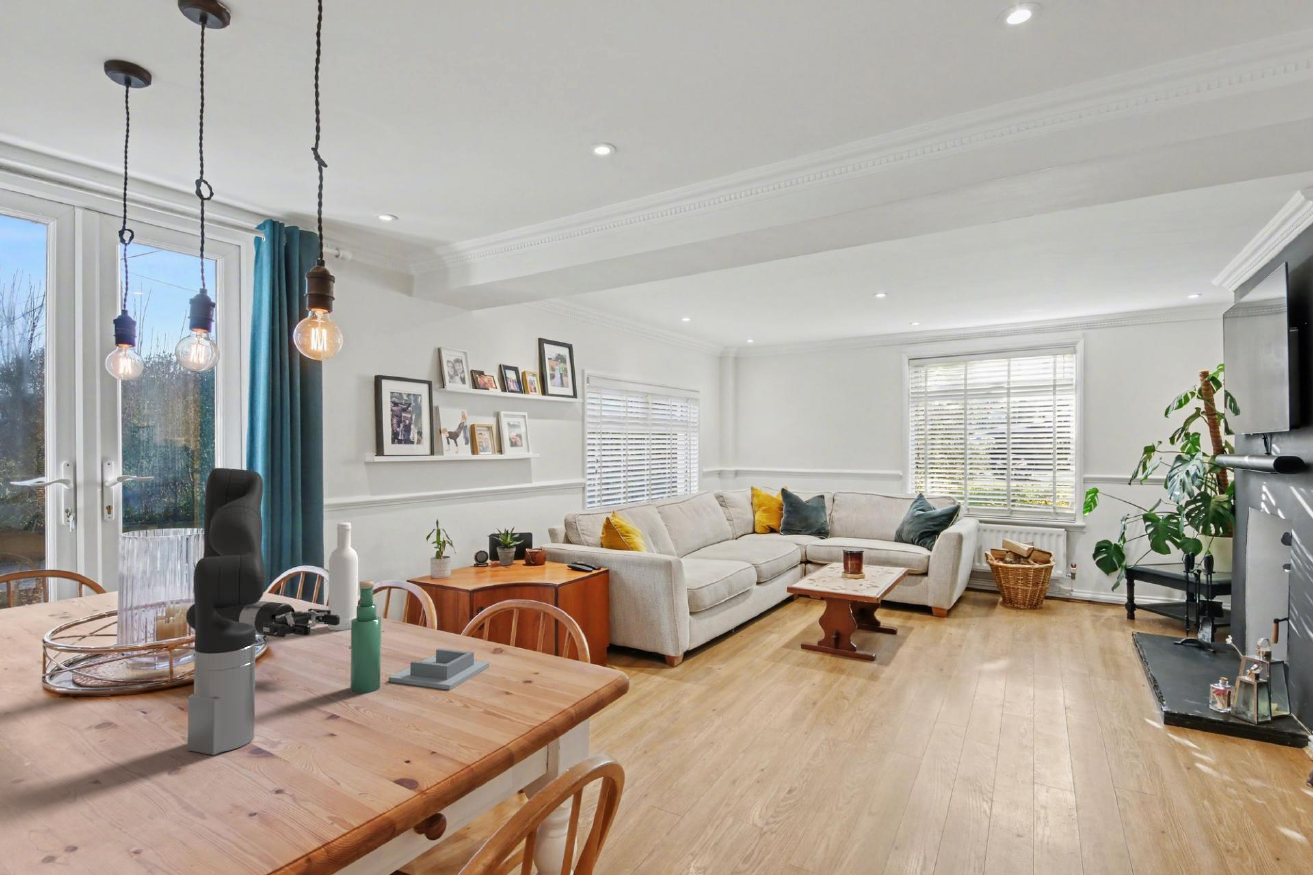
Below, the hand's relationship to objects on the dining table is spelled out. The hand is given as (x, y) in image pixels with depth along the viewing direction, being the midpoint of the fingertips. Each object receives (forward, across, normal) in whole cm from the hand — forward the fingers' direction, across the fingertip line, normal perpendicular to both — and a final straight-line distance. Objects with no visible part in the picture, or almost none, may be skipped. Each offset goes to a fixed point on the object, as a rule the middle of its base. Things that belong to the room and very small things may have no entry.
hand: (324, 625), depth 153 cm
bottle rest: (+22, +13, +13) cm, 28 cm away
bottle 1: (-28, +38, +14) cm, 49 cm away
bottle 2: (+12, 0, +13) cm, 17 cm away
